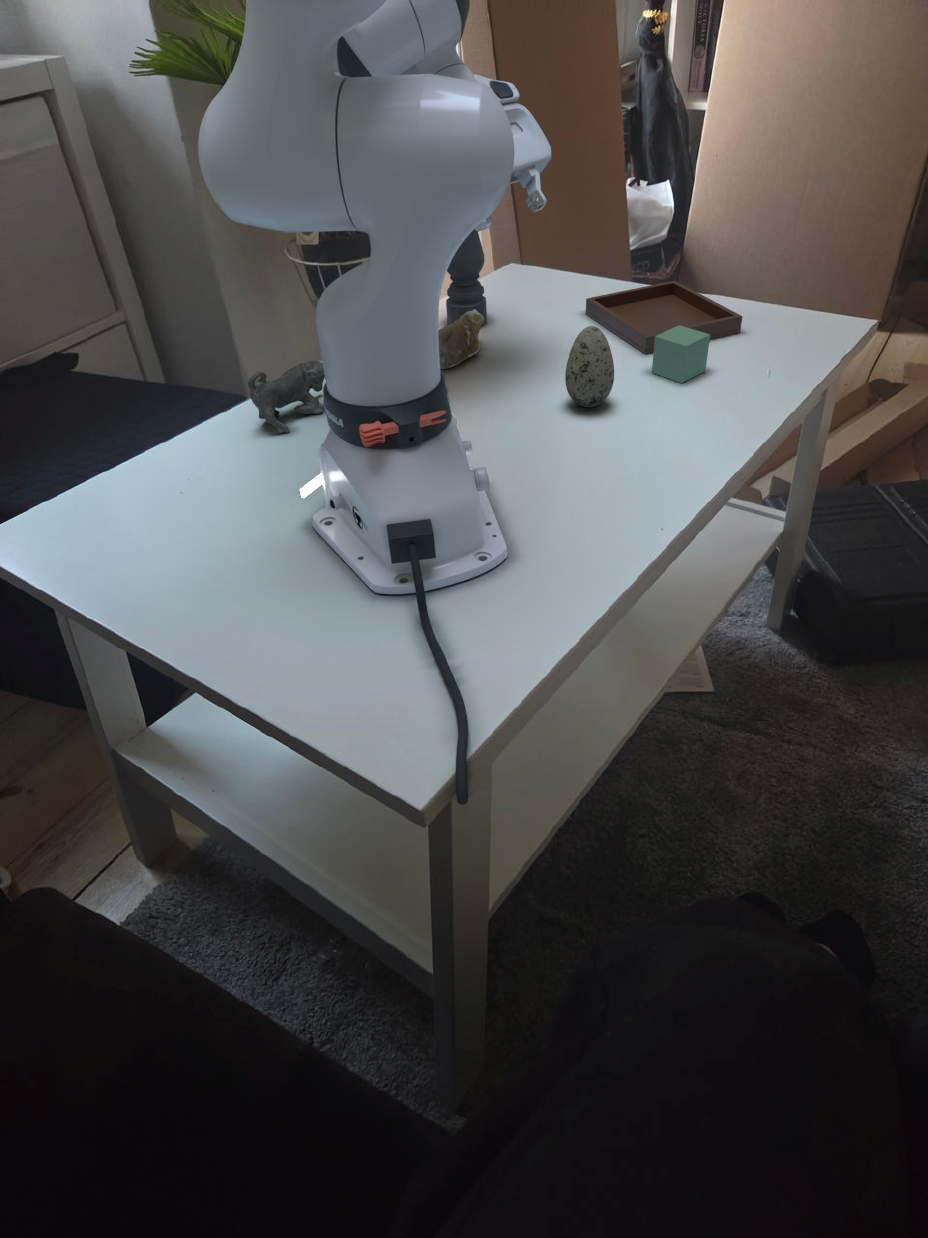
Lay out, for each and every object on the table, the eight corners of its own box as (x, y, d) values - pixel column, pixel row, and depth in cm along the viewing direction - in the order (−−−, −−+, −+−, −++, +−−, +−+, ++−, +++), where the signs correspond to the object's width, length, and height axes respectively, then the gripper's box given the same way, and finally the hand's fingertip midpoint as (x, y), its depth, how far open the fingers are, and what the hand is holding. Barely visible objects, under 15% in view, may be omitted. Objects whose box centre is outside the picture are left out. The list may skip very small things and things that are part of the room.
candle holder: (494, 318, 130) (488, 135, 114) (473, 332, 127) (464, 144, 111) (461, 312, 133) (450, 132, 117) (439, 325, 129) (425, 142, 113)
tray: (740, 332, 121) (742, 315, 119) (645, 354, 117) (646, 337, 115) (673, 295, 133) (674, 280, 132) (585, 313, 130) (586, 298, 128)
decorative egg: (602, 391, 109) (606, 314, 102) (619, 411, 104) (624, 331, 98) (558, 398, 108) (559, 321, 101) (573, 418, 103) (575, 339, 97)
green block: (705, 371, 111) (710, 334, 108) (682, 383, 109) (686, 346, 106) (675, 361, 114) (678, 324, 111) (651, 372, 112) (654, 336, 109)
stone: (399, 326, 112) (467, 285, 121) (396, 366, 117) (461, 324, 126) (440, 350, 110) (506, 307, 119) (435, 390, 115) (499, 346, 124)
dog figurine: (275, 439, 104) (262, 382, 99) (247, 426, 107) (233, 370, 102) (347, 403, 110) (339, 348, 105) (319, 392, 113) (309, 338, 109)
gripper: (395, 111, 91) (462, 221, 92) (523, 81, 102) (583, 180, 102) (374, 152, 97) (438, 256, 98) (498, 119, 107) (555, 214, 108)
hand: (513, 217), depth 100 cm, fingers open, 8 cm apart
